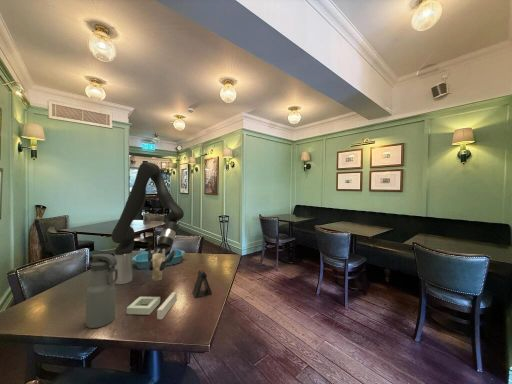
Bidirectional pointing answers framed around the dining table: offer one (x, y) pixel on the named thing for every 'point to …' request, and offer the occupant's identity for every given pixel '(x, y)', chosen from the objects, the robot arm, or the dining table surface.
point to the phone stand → (197, 287)
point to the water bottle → (101, 291)
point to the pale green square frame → (144, 310)
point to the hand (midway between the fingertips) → (155, 269)
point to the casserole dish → (143, 261)
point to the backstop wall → (166, 305)
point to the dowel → (157, 266)
